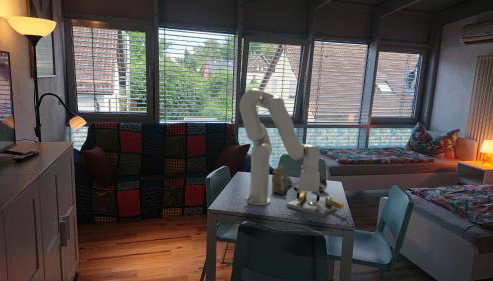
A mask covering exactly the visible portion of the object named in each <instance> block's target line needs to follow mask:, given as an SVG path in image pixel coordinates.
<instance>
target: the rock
mask: <svg viewBox="0 0 493 281" xmlns="http://www.w3.org/2000/svg"><path fill="white" fill-rule="evenodd" d="M271 183H272V184H271V185H272V188H271V192H272V193H273V194H275V193H276V194H278V195H282V196H285V195H287V192H288V188H289V187H290V186H291V185H292V183H293V180H292V178H291V177H290V176H289V175H288V173H287V168H286V167H285V165H284V164H283V163H282V164H281V163H280V164H279V165H278V166H277V168H273V171H272V178H271Z"/></svg>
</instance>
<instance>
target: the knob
mask: <svg viewBox="0 0 493 281" xmlns="http://www.w3.org/2000/svg"><path fill="white" fill-rule="evenodd" d="M324 202H325V205H326V206H334V207H336V208H337V210H343V209H344V206H345V205H344V202H343V203H342V202H340V201H338V200H336V199H334V198H333V197H329V196H327V197H325V200H324Z"/></svg>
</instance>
